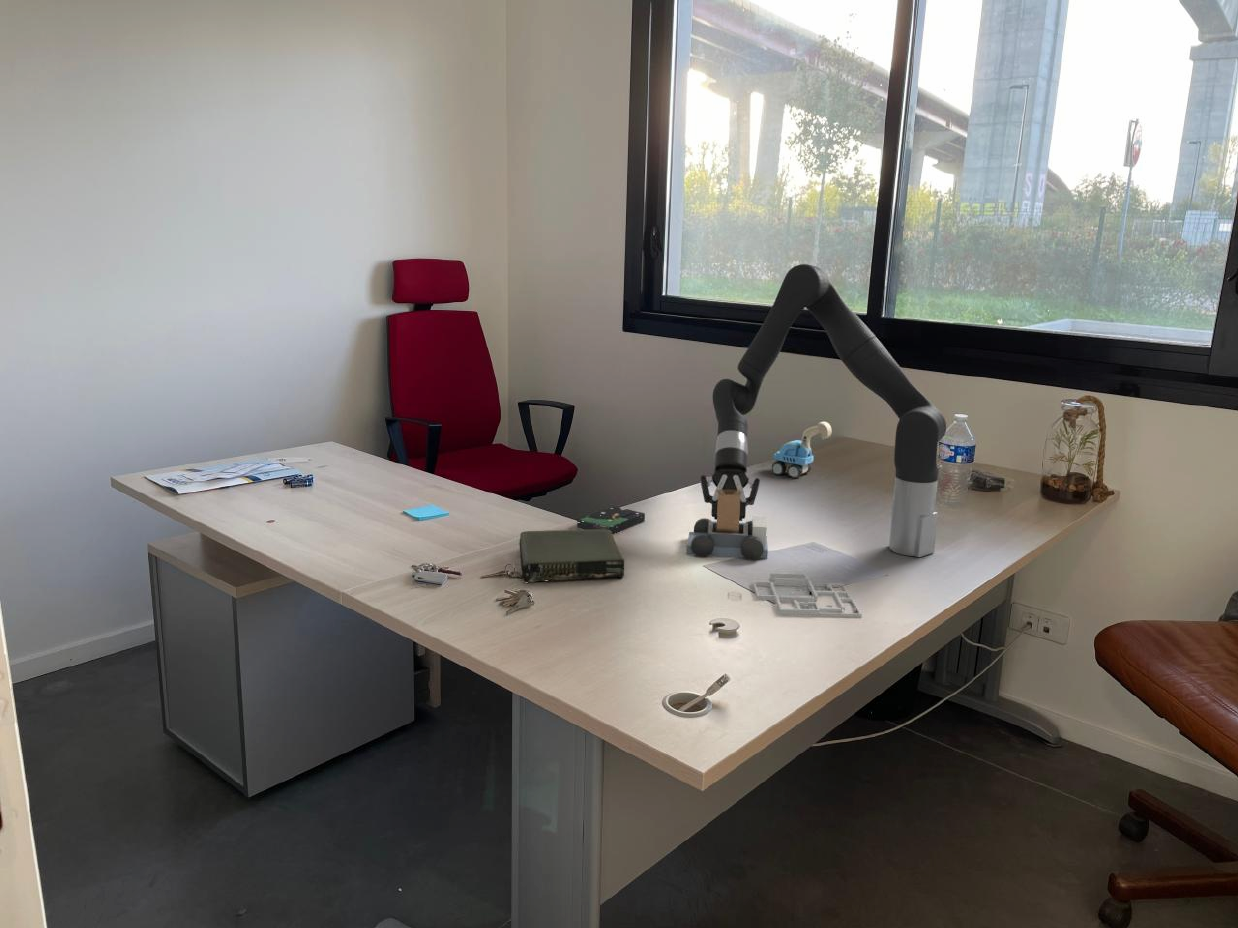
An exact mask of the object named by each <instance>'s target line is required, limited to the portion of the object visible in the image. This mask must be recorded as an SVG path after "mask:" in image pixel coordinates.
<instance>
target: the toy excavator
mask: <svg viewBox="0 0 1238 928" xmlns="http://www.w3.org/2000/svg"><path fill="white" fill-rule="evenodd" d="M832 432H833V431H832V426H831V425H830V423H829V422H827V421H821V422H818V423H817V425H815V426H811V427H809V428H807V429H805V430H804V431H803V433H802V435H801V439H800V440H799V439H796V440H792V441H789V442H786V443H785V444H782V446H781V448H780V450H778V451H776V452H775V453H774V456H773V459H774V460H775V462H773V463H772V464H771V472H772V473H773V474H774V475H782V474H785V473H787V474H788V477H792V479H797V478H799V477H801V476H802V475H806V474H808V473H810V471H811V470H812V463H813V462H814V459H815V457H814V454H813V453H812V452H813V450H812V449H813V448H811V438H812V437H813V436H815V435H817V434H820V435H821V439H822V440H826V439H827V438H830V437H831V435H832Z"/></svg>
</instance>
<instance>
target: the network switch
mask: <svg viewBox="0 0 1238 928" xmlns="http://www.w3.org/2000/svg"><path fill="white" fill-rule="evenodd" d="M518 545H519V555H520V556H519V557H520V569H521V577H522V580H523V582H524V581H525V582H530V581H534V582H538V581H544V580H548V581H550V580H552V581H561V580H562V581H567V580H570V581H572V579H573V580H577V579H578V580H579V581H582V580H585V579H598V578H609V579H610V578H619V579H620V578H621V579H623V578H624V576H625V560H624V558H623V556H622V554H621V551H620V549H619V547H618V545H617V542H616V539H615V537H614V534H613V535H612V531H610V530H605V529H593V530H584V529H563V530H562V529H559V530H558V529H557V530H556V529H554V530H526V531H522V532H521V533H520V536H519V543H518ZM581 579H582V580H581ZM525 582H524V583H525ZM530 583H531V582H530Z"/></svg>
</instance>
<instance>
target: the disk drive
mask: <svg viewBox="0 0 1238 928" xmlns="http://www.w3.org/2000/svg"><path fill="white" fill-rule="evenodd" d="M600 515H601V516H600ZM645 516H646V514H645V512H641V511H635V510H632V509H629V508H625V509H621V507H619V506H614V505H612V506H609V507H607V508H603V509H601V510H598V511H596V512H593V513H590V514H588V515H586V516H582V517H579V518H578V519H577V521H576V523H577V522H580V523H577V525H576V526H577V529H579V530H593V529H605V530H610V531H612V534H613V535H616V534H618V533H620V531H621V532H624V531H625V530H628V529H631V528H632V527H635V526H637V525H640V524H643V523H644V522H645V518H646V517H645ZM582 521H584V522H582ZM615 533H616V534H615Z"/></svg>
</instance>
